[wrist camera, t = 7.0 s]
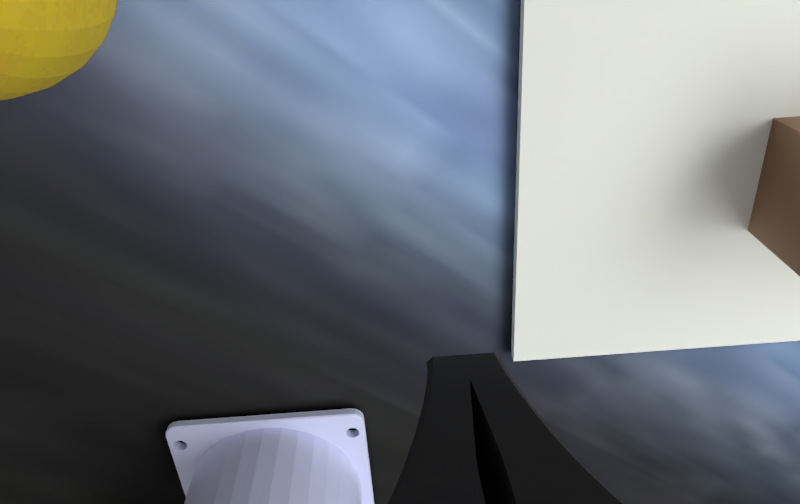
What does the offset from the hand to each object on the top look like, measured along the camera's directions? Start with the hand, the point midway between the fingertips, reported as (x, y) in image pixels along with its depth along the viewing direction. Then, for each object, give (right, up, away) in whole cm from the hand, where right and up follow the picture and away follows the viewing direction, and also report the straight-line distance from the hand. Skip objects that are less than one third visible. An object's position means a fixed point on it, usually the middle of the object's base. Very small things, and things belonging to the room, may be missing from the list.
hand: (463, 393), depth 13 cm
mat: (+12, +6, +9) cm, 16 cm away
